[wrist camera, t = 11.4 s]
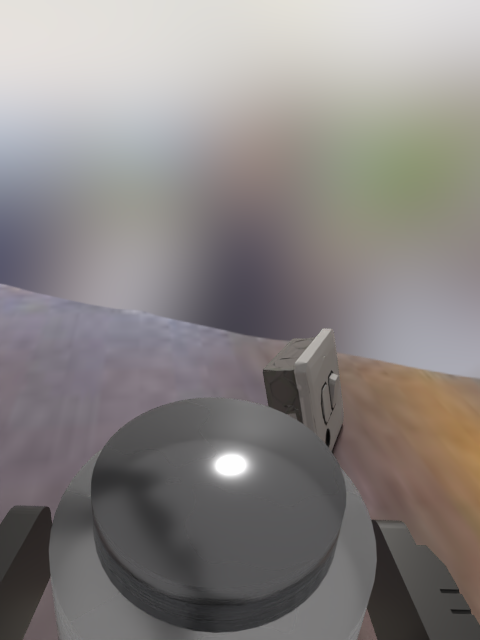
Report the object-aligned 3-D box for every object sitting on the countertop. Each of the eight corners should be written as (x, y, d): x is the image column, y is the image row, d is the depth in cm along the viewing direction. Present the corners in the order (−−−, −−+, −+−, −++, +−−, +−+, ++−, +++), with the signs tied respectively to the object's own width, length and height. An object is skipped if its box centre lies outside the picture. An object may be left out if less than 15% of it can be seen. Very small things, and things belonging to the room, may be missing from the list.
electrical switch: (320, 484, 28) (329, 370, 25) (256, 464, 30) (258, 357, 27) (344, 421, 36) (352, 329, 33) (292, 409, 38) (296, 322, 36)
